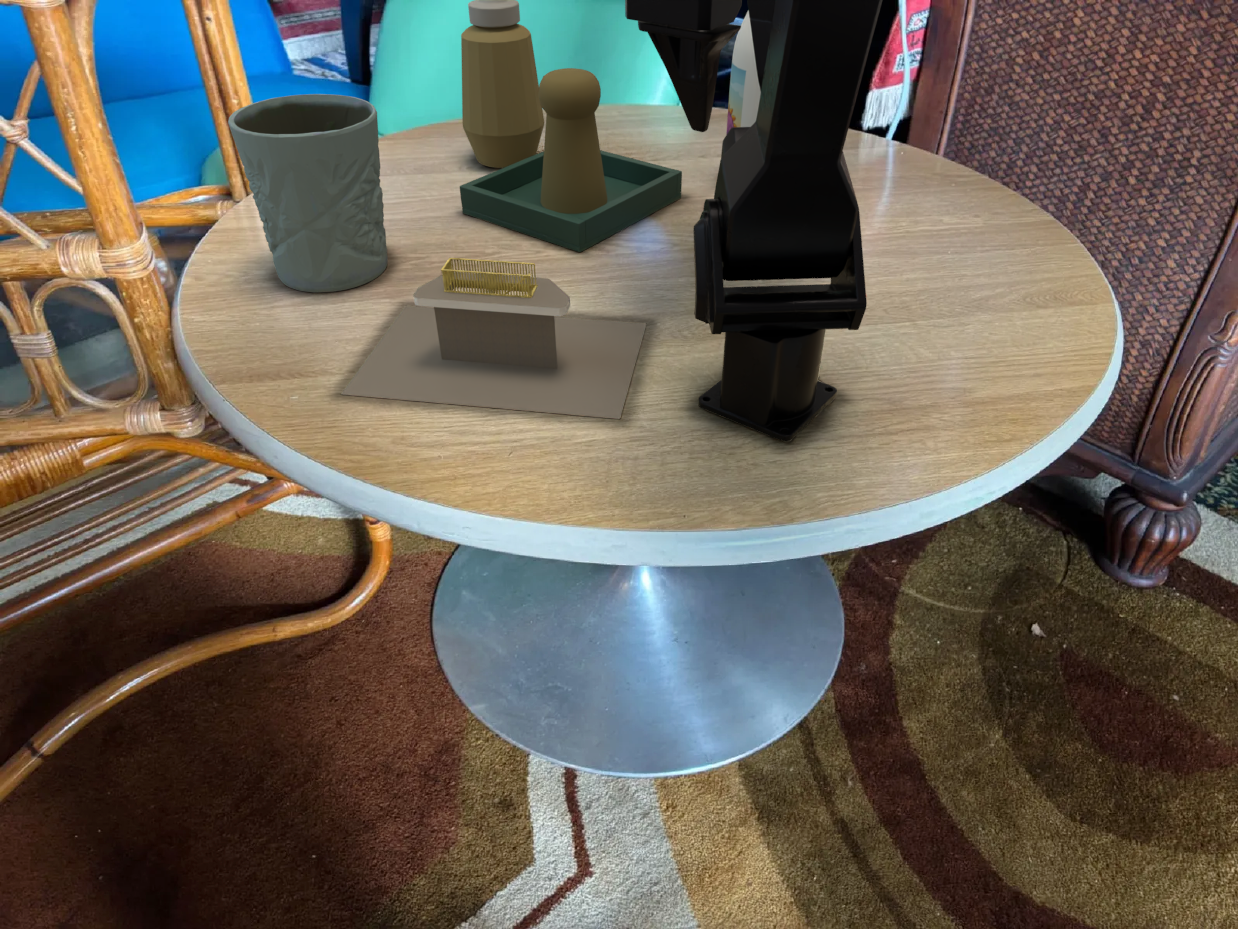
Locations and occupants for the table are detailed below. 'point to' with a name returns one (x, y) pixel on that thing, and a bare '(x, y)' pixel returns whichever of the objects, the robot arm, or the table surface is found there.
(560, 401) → the platform
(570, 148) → the brown game pawn
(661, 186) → the serving tray
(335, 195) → the embossed green cup
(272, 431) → the table surface
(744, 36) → the milk bottle
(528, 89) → the squeeze bottle
